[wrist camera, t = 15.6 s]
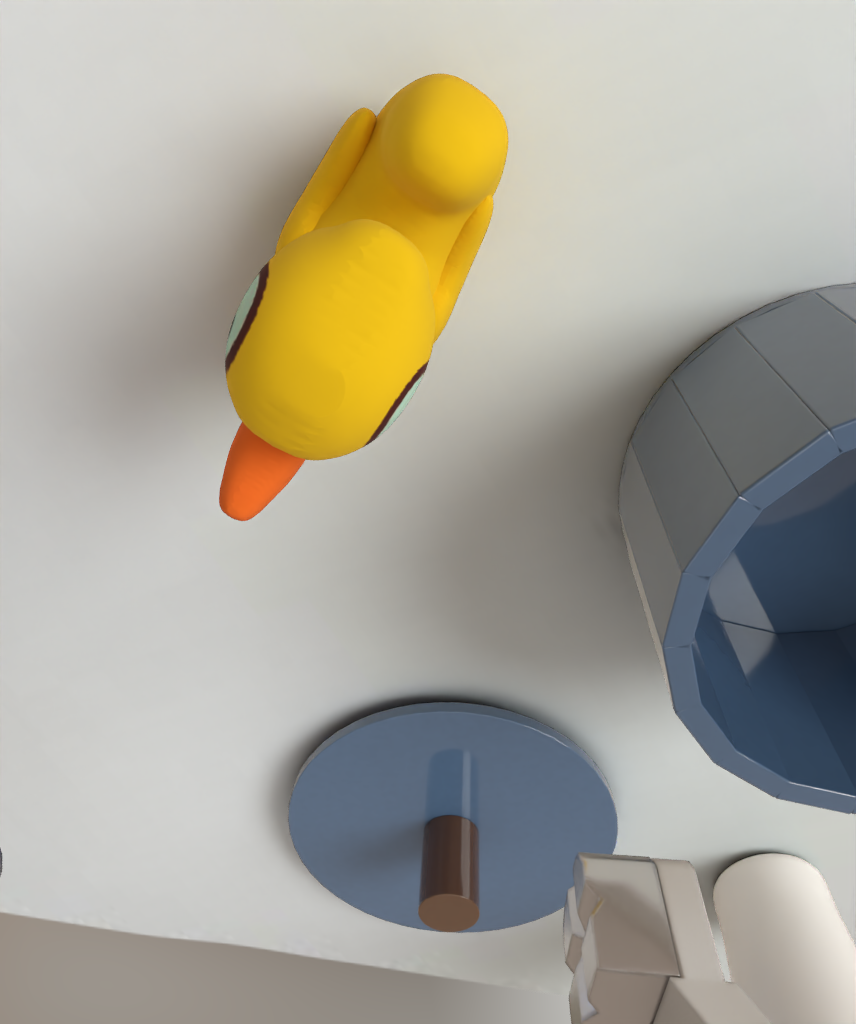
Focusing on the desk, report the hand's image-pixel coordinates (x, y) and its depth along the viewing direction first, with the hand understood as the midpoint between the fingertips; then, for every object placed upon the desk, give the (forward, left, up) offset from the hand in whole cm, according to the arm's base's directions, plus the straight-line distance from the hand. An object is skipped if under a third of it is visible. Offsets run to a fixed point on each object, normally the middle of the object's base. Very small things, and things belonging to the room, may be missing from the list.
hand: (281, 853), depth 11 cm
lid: (+4, -22, -18) cm, 29 cm away
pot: (+15, -3, -19) cm, 25 cm away
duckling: (-1, +4, -19) cm, 20 cm away
